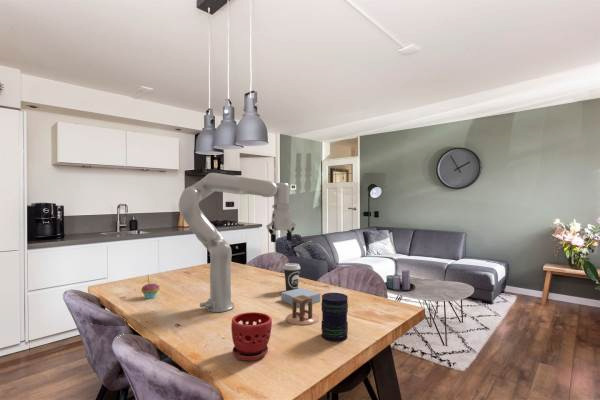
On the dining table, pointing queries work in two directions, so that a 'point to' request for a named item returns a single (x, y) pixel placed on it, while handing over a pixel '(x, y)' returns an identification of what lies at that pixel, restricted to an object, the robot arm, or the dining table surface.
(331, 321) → the storage jar
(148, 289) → the cupcake
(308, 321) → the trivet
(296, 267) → the coffee cup
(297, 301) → the stool
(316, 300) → the step
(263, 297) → the dining table surface
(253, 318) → the plant pot
